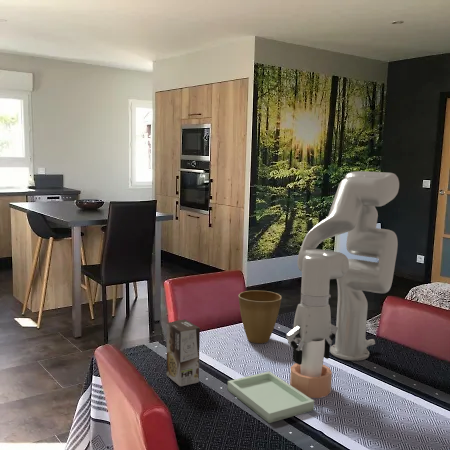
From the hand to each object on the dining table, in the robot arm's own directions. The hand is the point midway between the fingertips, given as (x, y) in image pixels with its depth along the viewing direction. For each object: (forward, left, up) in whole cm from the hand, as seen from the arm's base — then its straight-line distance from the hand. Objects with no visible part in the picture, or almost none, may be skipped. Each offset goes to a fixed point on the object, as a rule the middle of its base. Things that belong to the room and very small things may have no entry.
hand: (311, 359), depth 143 cm
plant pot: (-8, -38, -9) cm, 40 cm away
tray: (+14, 0, -9) cm, 16 cm away
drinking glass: (0, 0, -9) cm, 9 cm away
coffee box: (+29, -22, -9) cm, 37 cm away
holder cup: (0, 0, -9) cm, 9 cm away
